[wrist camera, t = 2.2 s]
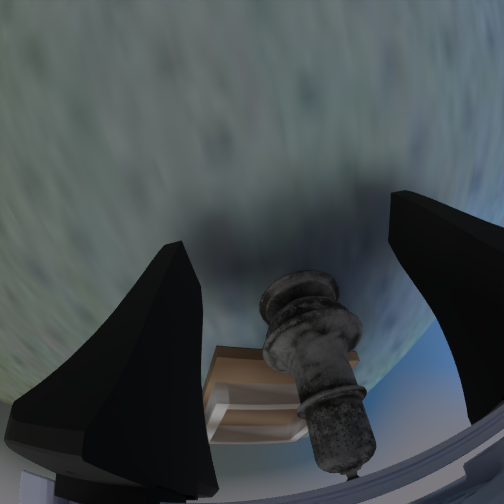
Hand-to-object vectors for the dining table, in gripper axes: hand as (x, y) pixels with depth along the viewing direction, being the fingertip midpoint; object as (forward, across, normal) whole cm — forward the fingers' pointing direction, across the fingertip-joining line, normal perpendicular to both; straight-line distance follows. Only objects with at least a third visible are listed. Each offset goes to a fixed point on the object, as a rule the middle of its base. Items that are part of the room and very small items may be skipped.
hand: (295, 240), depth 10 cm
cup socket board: (+5, +4, +22) cm, 23 cm away
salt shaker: (+5, -1, +8) cm, 10 cm away
